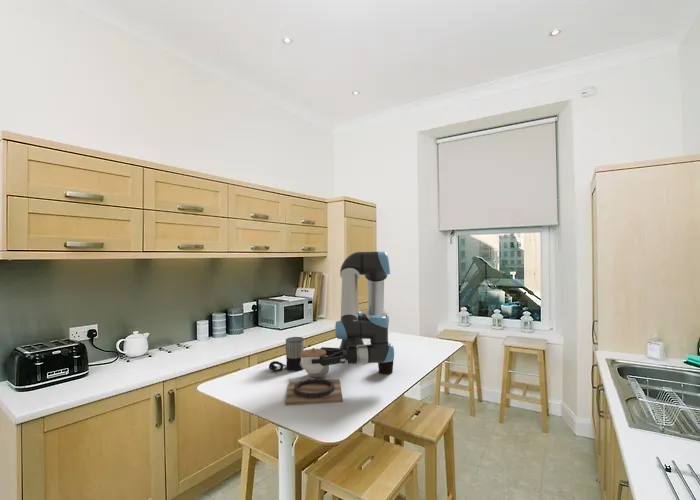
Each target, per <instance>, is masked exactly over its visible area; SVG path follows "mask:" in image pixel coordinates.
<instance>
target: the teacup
mask: <svg viewBox="0 0 700 500" xmlns="http://www.w3.org/2000/svg"><path fill="white" fill-rule="evenodd" d="M300 366H301V367H302V368H303V366H302V363H301V361H300ZM302 370H305V369H304V368H303V369H302ZM305 371H306V370H305ZM329 372H330V365H326V366H324V368H323V369H322V370H321V372H319V373H315V374H311V373H307V374H308V376H310V377H311V378H312V379H318V378H319V379H323V378H324V377H325V376H326V375H328V373H329Z"/></svg>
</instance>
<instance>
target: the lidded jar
mask: <svg viewBox="0 0 700 500" xmlns="http://www.w3.org/2000/svg"><path fill="white" fill-rule="evenodd" d="M304 350H305V351H302V352H301V353H300V355H301V363H302V366H303V368H304V369H305V373H307V374H308V373H311V374H315V373H319V372H321V370H322V369H323V368H324V366H322V365H320V364H312V365H303V358H304V357H320V356H322V357H325V356H326V354H327V353H326V351H325V350H322V349H321V348H315V347H313V348H311V349H304ZM304 369H303V370H304Z"/></svg>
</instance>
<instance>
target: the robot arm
mask: <svg viewBox="0 0 700 500" xmlns="http://www.w3.org/2000/svg"><path fill="white" fill-rule="evenodd" d="M389 262H390V260H389V254H388V252H387V251H381V250H378V251H357V252H353V253H352V254H350V255H348V256H347V257H346V258H345V259H344V261H343V262H342V264H341V267H340V270H339V276H340V278H341V299H340V301H341V302H340V320H337V321H335V325H334V328H335V337H336V339H338V340H341V342H340V345H339V347H326V346H325V347H323V346H322V347H321V348H320V349H322V350H325V351H326V353H327V354H326V356H325V357H322V356H320V357H304V358H303V365H312V364H320V365H322V366H326V365H329V366H332V365H339V364H346V361H347V364H348V365H357V364H360V365H361V364H362V365H365V364H375V363H376V364H378V363H384V362H391V361H393V359H395V348H394V345H393V344H392V343H390V342H389V322H390V318H389V317H390V316H389V313H387V312H386V310H385V309H384V306H385V305H384V304H385V281H386V279H387V277H388V275H390V274H391V269H390V263H389ZM363 275H364V277H365V279H366V280H367V305H368V306H367V309H366V311H365V313H363V312H362V311H361V310H359V304H358V303H359V302H358V299H359V297H358V296H359V293H358V292H359V289H358V286H359V285H358V281H359V280H358V279H359V278H360V276H363ZM364 340H369V341H370V342H369V343H370V344H365V343H364ZM305 350H306V349H304V351H305ZM393 362H394V361H393Z"/></svg>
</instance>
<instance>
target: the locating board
mask: <svg viewBox="0 0 700 500" xmlns="http://www.w3.org/2000/svg"><path fill="white" fill-rule="evenodd" d="M341 386H342V385H341V381H340V378H339V377H338V378H310V379H304V380H290V381H289V384H288V388H287V393H286V396H285V401H284V406H295V405H311V404H325V403H326V404H330V403H344V402H343V401H344V398H343V393H342V387H341Z"/></svg>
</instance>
